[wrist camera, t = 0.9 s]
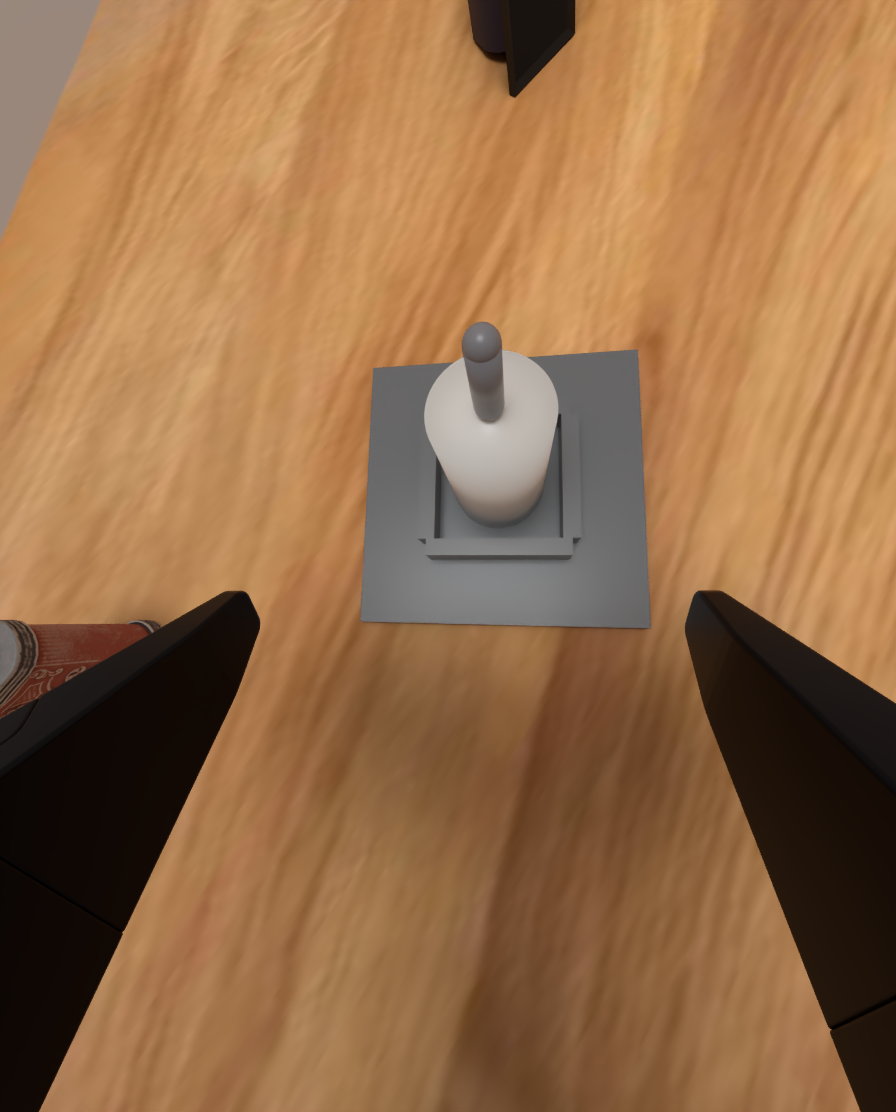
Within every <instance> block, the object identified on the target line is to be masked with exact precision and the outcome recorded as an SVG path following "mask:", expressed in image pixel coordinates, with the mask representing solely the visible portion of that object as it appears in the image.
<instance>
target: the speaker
mask: <svg viewBox="0 0 896 1112" xmlns="http://www.w3.org/2000/svg"><path fill="white" fill-rule="evenodd" d="M468 4H469V11H470V18H471V25H472V32H473V39H474V40H475V41H476V42H477V43H478V44H479V45H480V46H481V47H482V48H483V49H484V50H485V51H486V52H493V53H501V52H505V51H506V61H507V71H508V81H509V91H510V95H511V96H514V97H515V96H516V95H517V94H518V93H519V92H520V91H521V90H522V89H523V88H524V86H525V85H526V84H527V83H528V82H529V81H530V80H531V79H532V78H533V77H534V76H535V75H536V74H537V73H538V72H539V71H540V70H541V68H542V67H543V66H544V65H545V64H546V63H547V62H548V61H549V60H550V59H551V58H552V57H553V56H554V55H555V54H556V53H557V51H558V50H559V49H560V48H561V47H562V46H563V45H564V44H565V43H566V42H567V41H568V40H569V39H570V38H571V37H572V36H573V35H574V33H575V0H468Z"/></svg>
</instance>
